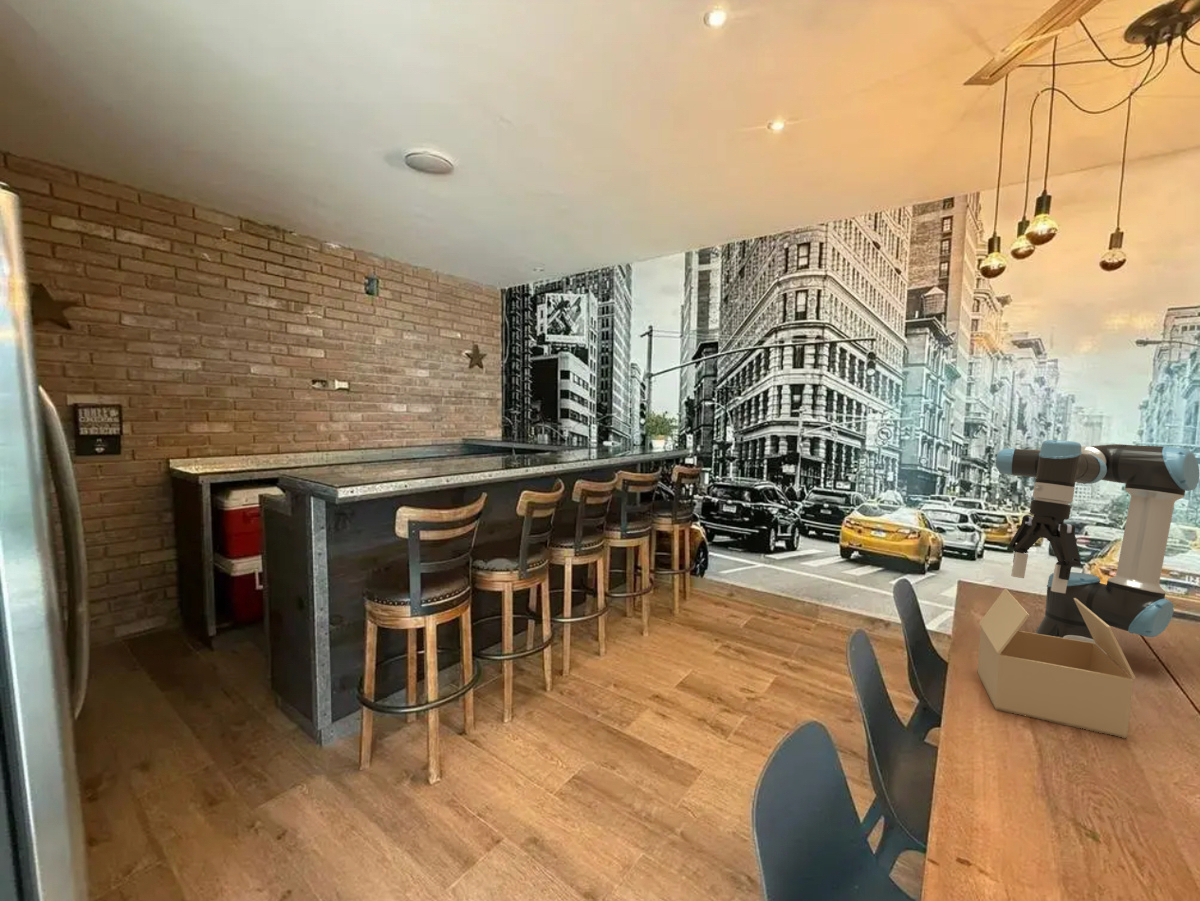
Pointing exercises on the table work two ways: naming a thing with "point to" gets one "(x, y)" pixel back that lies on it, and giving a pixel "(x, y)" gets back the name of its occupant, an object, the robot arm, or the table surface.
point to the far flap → (1003, 620)
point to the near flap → (1104, 637)
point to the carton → (1057, 682)
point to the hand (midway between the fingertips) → (1036, 584)
